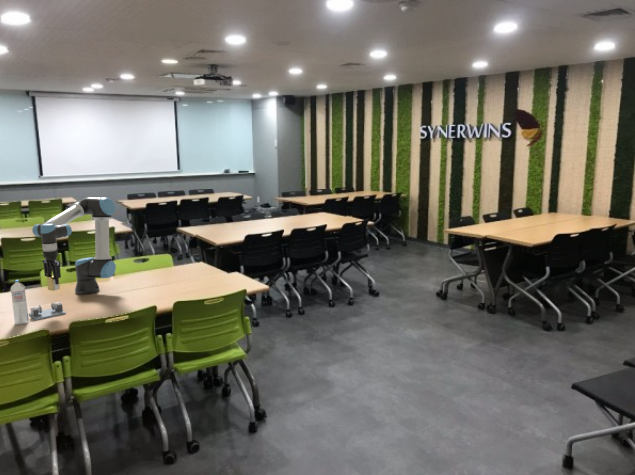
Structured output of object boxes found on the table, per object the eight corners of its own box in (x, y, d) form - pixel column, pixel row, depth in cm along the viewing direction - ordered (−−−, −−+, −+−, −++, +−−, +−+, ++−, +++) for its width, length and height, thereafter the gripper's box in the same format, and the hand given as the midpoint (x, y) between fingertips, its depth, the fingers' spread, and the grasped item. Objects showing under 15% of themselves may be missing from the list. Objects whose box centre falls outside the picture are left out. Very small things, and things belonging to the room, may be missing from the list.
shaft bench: (28, 314, 298) (27, 304, 297) (57, 308, 309) (56, 298, 308) (36, 320, 288) (34, 309, 287) (65, 313, 299) (64, 303, 298)
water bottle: (31, 320, 287) (26, 278, 283) (24, 325, 281) (19, 281, 276) (19, 321, 287) (13, 278, 283) (12, 325, 280) (7, 282, 276)
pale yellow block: (55, 288, 301) (53, 275, 299) (59, 289, 299) (58, 276, 297) (48, 289, 297) (46, 276, 296) (52, 290, 295) (51, 277, 293)
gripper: (34, 250, 295) (39, 288, 299) (53, 252, 286) (57, 292, 290) (47, 247, 301) (51, 285, 305) (65, 250, 293) (69, 289, 297)
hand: (54, 288), depth 298 cm, fingers closed on pale yellow block, 4 cm apart
